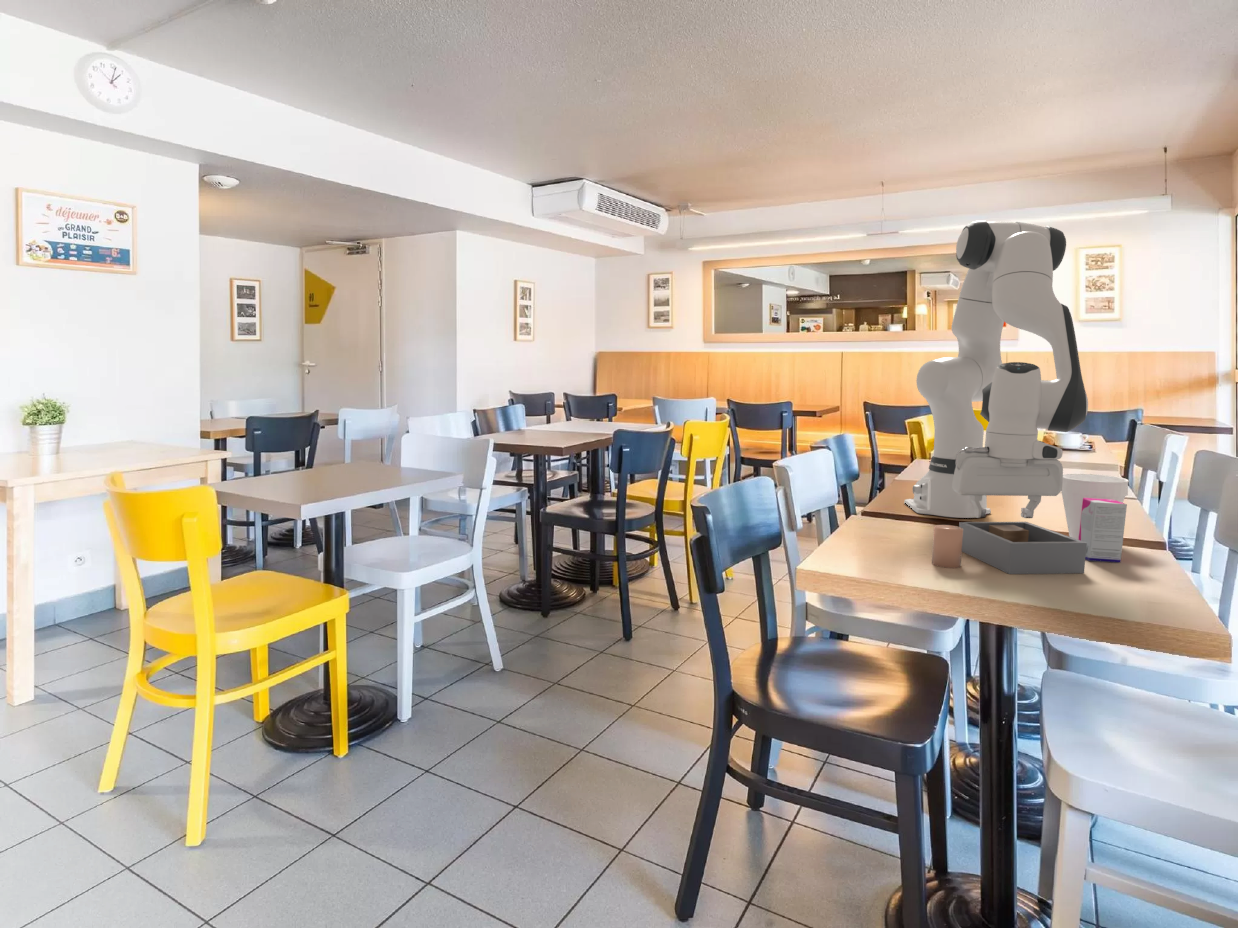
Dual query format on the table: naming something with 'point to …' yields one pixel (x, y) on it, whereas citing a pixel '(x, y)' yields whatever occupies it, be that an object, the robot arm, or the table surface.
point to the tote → (1024, 549)
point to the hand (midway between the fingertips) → (1003, 517)
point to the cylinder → (947, 546)
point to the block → (1010, 532)
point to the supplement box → (1102, 529)
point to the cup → (1088, 494)
